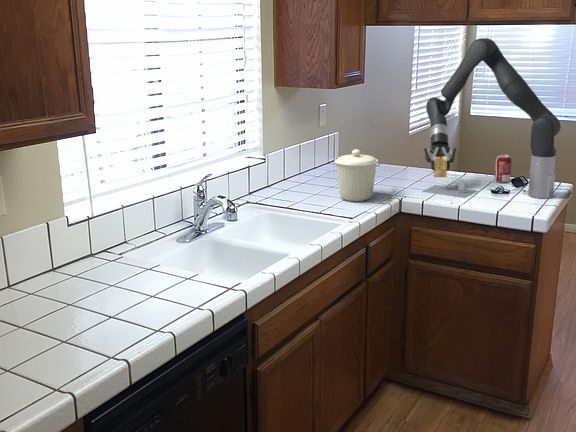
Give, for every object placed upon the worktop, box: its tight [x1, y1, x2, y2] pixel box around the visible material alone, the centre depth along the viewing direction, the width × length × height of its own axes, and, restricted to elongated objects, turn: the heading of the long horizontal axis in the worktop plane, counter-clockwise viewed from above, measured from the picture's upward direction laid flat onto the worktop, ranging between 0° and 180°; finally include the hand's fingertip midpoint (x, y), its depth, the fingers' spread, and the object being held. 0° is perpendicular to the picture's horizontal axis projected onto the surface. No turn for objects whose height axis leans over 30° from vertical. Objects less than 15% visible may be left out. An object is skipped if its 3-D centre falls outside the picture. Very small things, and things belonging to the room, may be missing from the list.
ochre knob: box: [433, 156, 448, 178], centre depth 271 cm, size 5×5×8 cm
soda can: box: [494, 154, 512, 184], centre depth 289 cm, size 7×7×12 cm
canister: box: [333, 149, 379, 202], centre depth 267 cm, size 18×18×21 cm
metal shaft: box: [457, 180, 465, 193], centre depth 268 cm, size 2×2×5 cm
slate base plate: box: [421, 184, 479, 199], centre depth 271 cm, size 20×14×2 cm
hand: (440, 169), depth 270 cm, fingers closed on ochre knob, 5 cm apart
